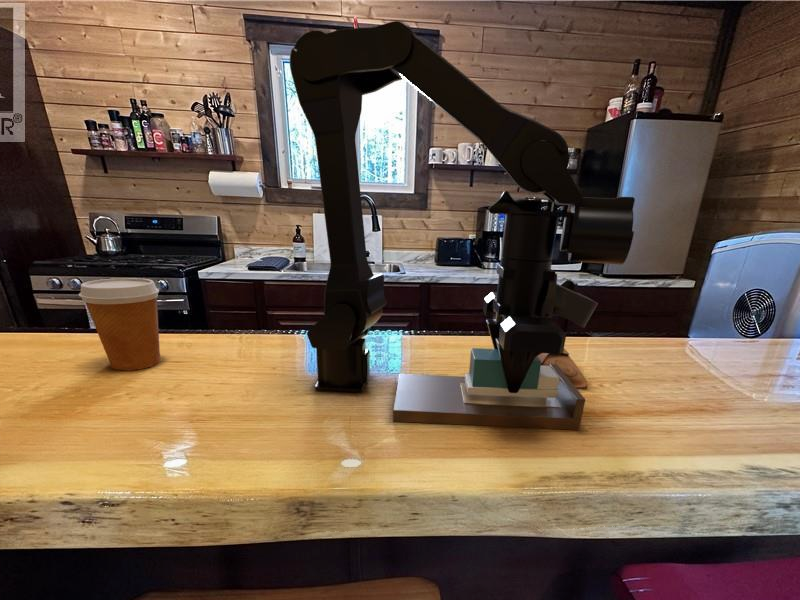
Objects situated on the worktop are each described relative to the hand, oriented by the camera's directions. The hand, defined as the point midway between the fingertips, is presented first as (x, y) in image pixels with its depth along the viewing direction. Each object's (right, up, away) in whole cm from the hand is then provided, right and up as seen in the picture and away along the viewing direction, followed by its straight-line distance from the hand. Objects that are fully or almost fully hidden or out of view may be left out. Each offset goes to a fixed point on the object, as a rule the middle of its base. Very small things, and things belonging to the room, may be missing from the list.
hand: (509, 384), depth 55 cm
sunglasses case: (+10, +3, +16) cm, 19 cm away
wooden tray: (-4, -3, +1) cm, 5 cm away
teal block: (0, -1, 0) cm, 1 cm away
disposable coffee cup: (-54, +3, +10) cm, 55 cm away
